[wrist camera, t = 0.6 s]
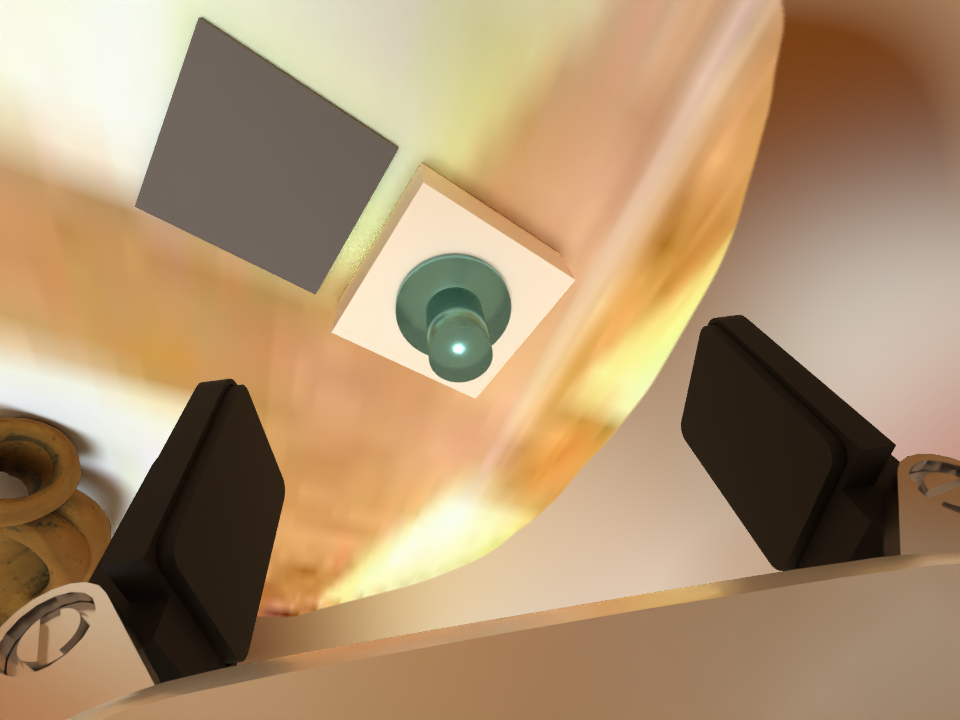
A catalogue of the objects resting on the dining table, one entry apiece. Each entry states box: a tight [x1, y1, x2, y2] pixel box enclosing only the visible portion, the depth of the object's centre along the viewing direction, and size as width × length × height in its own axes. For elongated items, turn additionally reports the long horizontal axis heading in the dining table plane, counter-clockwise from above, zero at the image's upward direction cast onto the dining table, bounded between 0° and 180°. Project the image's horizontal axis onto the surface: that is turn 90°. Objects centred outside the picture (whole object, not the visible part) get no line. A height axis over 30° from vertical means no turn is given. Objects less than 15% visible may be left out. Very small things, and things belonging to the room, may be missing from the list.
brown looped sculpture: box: [0, 417, 111, 627], centre depth 50 cm, size 18×13×22 cm
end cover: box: [396, 253, 511, 383], centre depth 40 cm, size 9×9×12 cm
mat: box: [135, 18, 398, 294], centre depth 38 cm, size 14×14×1 cm
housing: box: [332, 163, 575, 399], centre depth 42 cm, size 14×14×5 cm
